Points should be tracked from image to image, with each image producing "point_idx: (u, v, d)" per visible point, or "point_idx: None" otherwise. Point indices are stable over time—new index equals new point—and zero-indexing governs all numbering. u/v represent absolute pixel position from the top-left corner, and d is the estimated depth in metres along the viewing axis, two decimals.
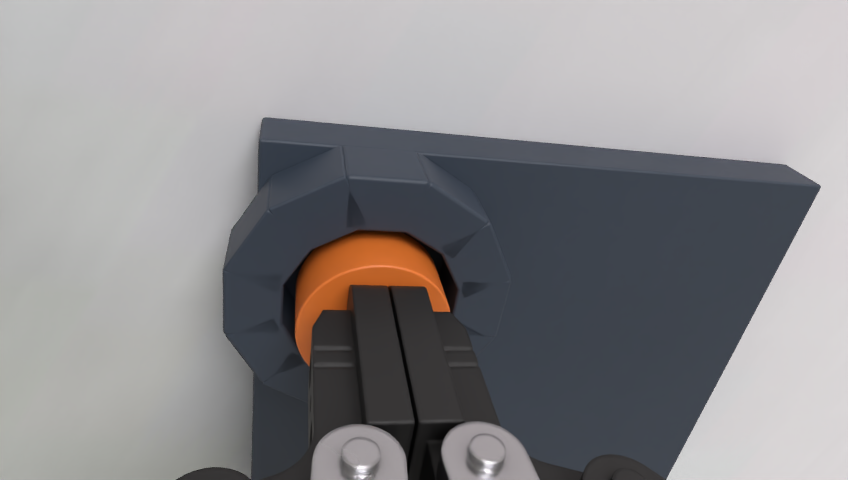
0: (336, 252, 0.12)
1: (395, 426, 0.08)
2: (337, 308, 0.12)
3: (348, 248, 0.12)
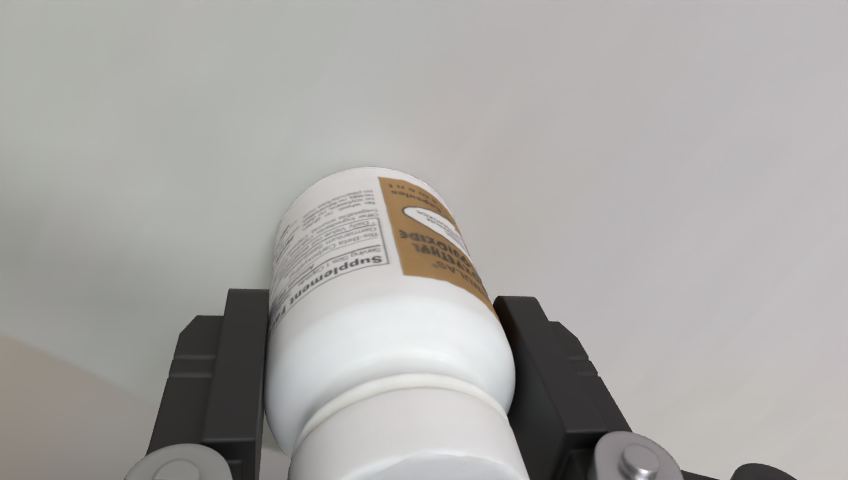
0: None
1: (233, 444, 0.08)
2: None
3: None
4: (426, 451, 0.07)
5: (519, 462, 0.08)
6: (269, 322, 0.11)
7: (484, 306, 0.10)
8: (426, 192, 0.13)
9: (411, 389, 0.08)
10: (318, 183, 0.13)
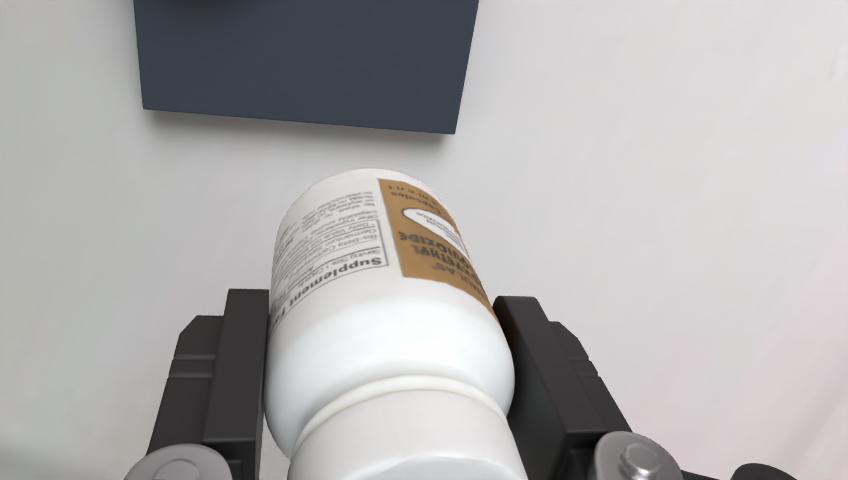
0: None
1: (233, 444, 0.08)
2: None
3: None
4: (425, 453, 0.07)
5: (518, 464, 0.08)
6: (269, 324, 0.11)
7: (483, 308, 0.10)
8: (426, 193, 0.13)
9: (410, 391, 0.08)
10: (318, 184, 0.13)
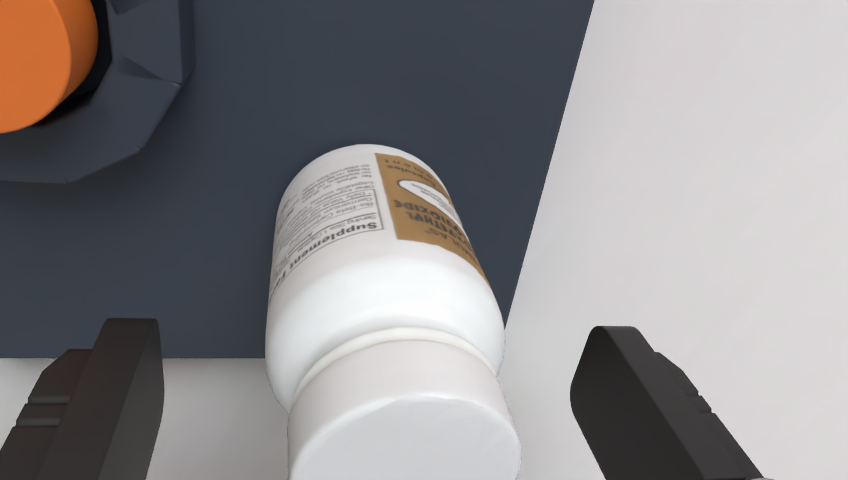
0: None
1: None
2: None
3: None
4: (416, 393, 0.08)
5: (505, 409, 0.09)
6: (270, 288, 0.12)
7: (474, 270, 0.11)
8: (421, 168, 0.14)
9: (403, 340, 0.09)
10: (317, 159, 0.14)
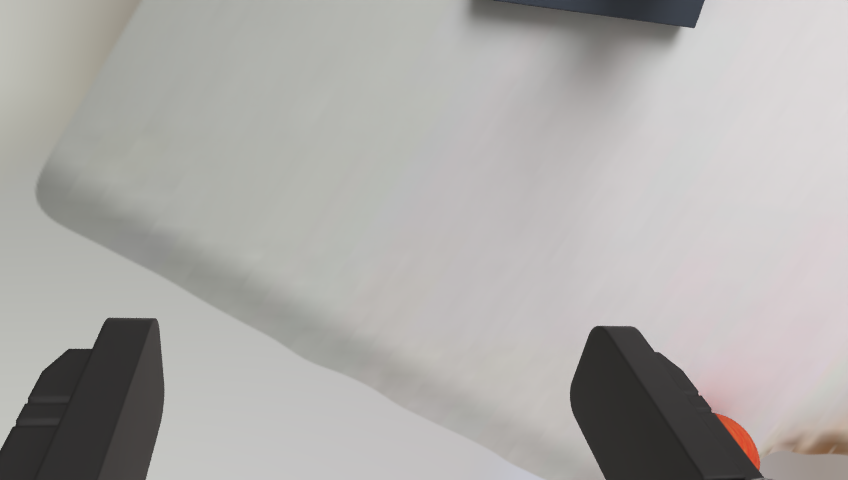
0: None
1: None
2: None
3: None
4: None
5: None
6: None
7: None
8: None
9: None
10: None
